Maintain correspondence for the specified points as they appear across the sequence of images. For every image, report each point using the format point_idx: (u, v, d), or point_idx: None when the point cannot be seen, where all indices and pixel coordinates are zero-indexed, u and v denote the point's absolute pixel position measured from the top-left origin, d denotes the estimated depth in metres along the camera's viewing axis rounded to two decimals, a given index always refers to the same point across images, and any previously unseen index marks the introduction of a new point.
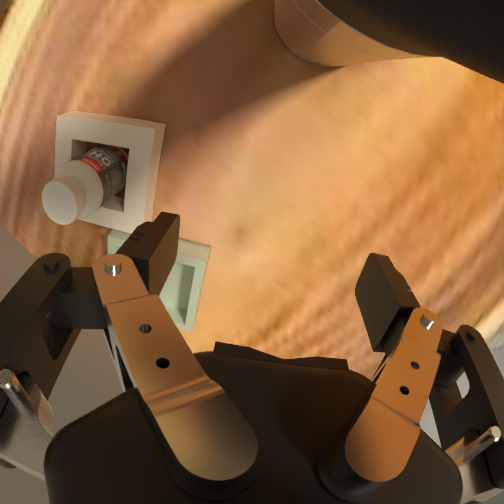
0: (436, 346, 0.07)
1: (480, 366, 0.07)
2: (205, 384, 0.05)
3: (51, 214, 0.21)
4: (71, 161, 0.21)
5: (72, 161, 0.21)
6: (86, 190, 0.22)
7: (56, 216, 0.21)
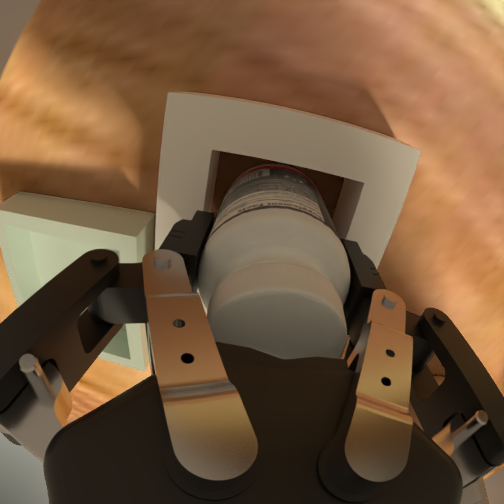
0: (395, 325, 0.08)
1: (453, 350, 0.07)
2: (222, 385, 0.05)
3: (237, 319, 0.07)
4: None
5: None
6: None
7: (232, 334, 0.08)
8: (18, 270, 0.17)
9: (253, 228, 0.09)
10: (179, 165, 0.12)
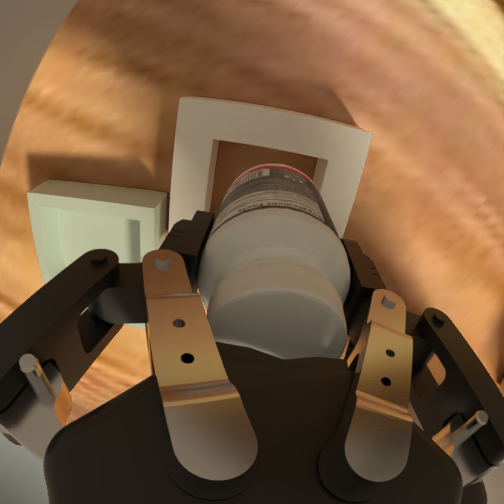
0: (395, 326, 0.08)
1: (453, 350, 0.07)
2: (223, 385, 0.05)
3: (237, 318, 0.08)
4: None
5: None
6: None
7: (232, 333, 0.08)
8: (46, 246, 0.21)
9: (253, 228, 0.09)
10: (188, 151, 0.17)
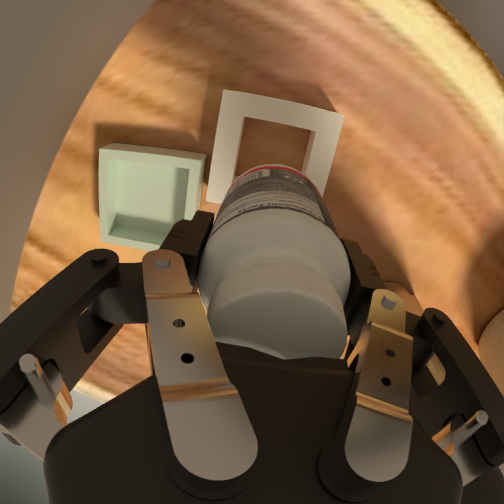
0: (395, 325, 0.08)
1: (453, 350, 0.07)
2: (223, 385, 0.05)
3: (238, 319, 0.08)
4: None
5: None
6: None
7: (232, 334, 0.08)
8: (108, 191, 0.30)
9: (253, 228, 0.09)
10: (227, 123, 0.26)
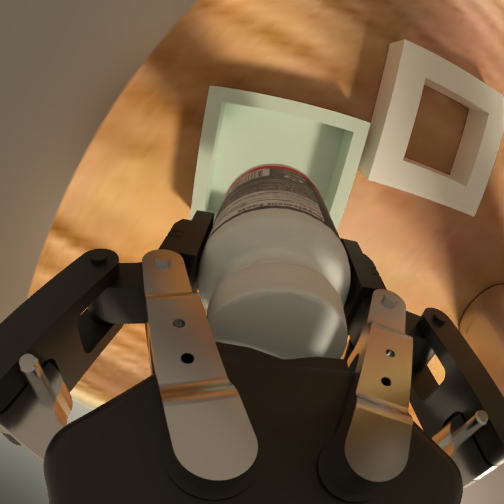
0: (395, 326, 0.08)
1: (453, 350, 0.07)
2: (223, 385, 0.05)
3: (237, 319, 0.07)
4: None
5: None
6: None
7: (232, 334, 0.08)
8: (213, 153, 0.20)
9: (253, 228, 0.09)
10: (407, 81, 0.16)
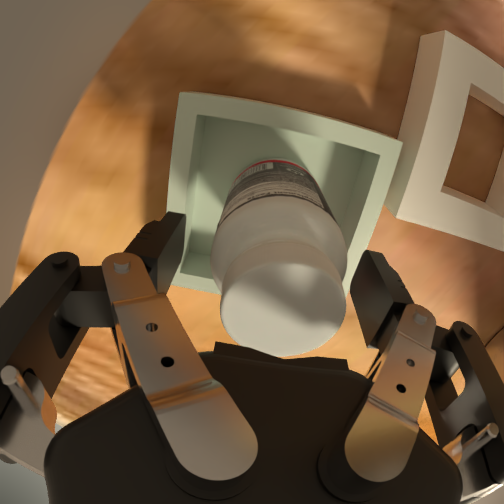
0: (429, 342, 0.07)
1: (475, 363, 0.07)
2: (208, 384, 0.05)
3: (251, 290, 0.09)
4: None
5: None
6: None
7: (246, 304, 0.09)
8: (188, 185, 0.15)
9: (262, 213, 0.10)
10: (450, 86, 0.11)
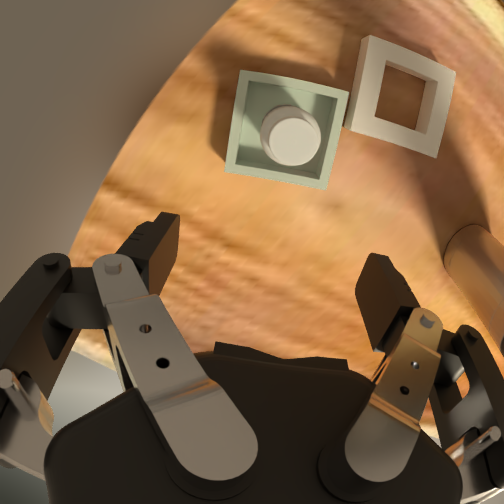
0: (436, 346, 0.07)
1: (480, 366, 0.07)
2: (205, 384, 0.05)
3: (281, 128, 0.22)
4: (320, 136, 0.25)
5: (320, 137, 0.25)
6: None
7: (279, 135, 0.22)
8: (242, 115, 0.29)
9: (283, 110, 0.23)
10: (373, 63, 0.24)
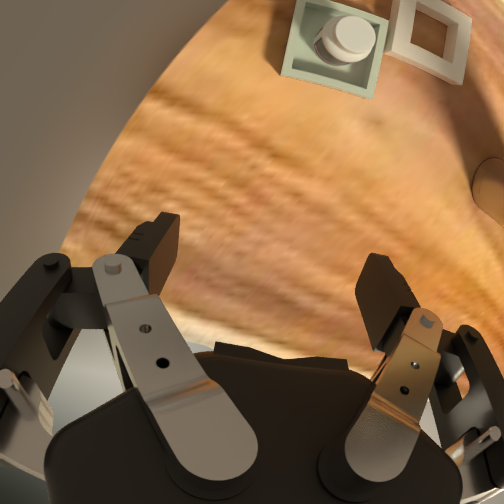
0: (436, 346, 0.07)
1: (480, 366, 0.07)
2: (205, 384, 0.05)
3: (345, 22, 0.21)
4: None
5: None
6: (353, 53, 0.24)
7: (344, 27, 0.21)
8: (299, 28, 0.27)
9: (342, 16, 0.22)
10: (406, 2, 0.23)
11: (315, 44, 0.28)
